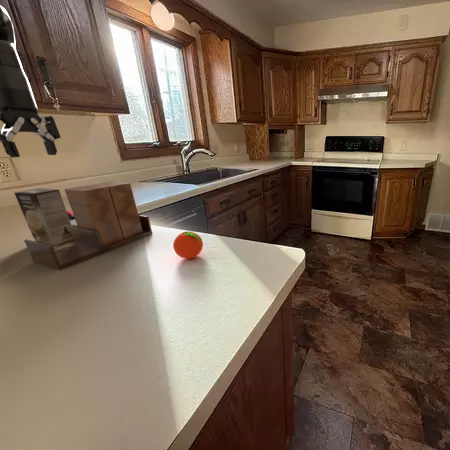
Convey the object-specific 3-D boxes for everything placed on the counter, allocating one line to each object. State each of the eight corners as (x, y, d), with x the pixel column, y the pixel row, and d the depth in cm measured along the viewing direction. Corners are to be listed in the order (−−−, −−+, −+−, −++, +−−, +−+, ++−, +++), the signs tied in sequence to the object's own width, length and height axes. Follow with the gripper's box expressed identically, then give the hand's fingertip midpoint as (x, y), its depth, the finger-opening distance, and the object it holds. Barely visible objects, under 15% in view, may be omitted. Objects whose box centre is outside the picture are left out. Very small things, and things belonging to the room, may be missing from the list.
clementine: (213, 253, 65) (209, 228, 63) (195, 265, 59) (189, 238, 57) (190, 249, 68) (185, 226, 66) (169, 261, 62) (164, 235, 60)
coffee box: (34, 243, 76) (12, 192, 70) (58, 235, 82) (39, 188, 76) (54, 245, 73) (33, 193, 68) (77, 237, 79) (60, 188, 74)
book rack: (58, 270, 59) (30, 201, 53) (33, 262, 64) (4, 197, 58) (152, 233, 81) (139, 181, 75) (128, 229, 85) (114, 180, 79)
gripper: (32, 94, 68) (52, 154, 74) (-44, 83, 55) (-12, 158, 60) (53, 92, 67) (73, 154, 72) (-18, 81, 54) (12, 157, 59)
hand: (34, 156), depth 66 cm, fingers open, 8 cm apart
